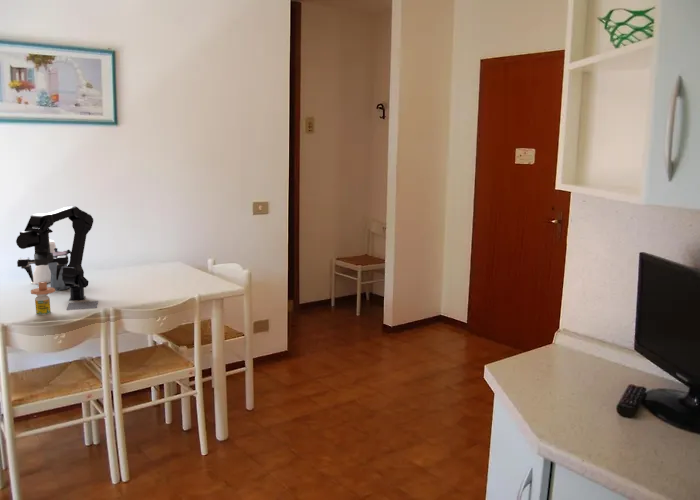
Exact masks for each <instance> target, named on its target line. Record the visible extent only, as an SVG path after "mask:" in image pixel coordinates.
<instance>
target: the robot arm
mask: <svg viewBox="0 0 700 500" xmlns="http://www.w3.org/2000/svg"><path fill="white" fill-rule="evenodd" d="M67 218H68V220H69V221H71V223H72V224H71V227H72V229H73V233H74V235H73V241H72V246H71V250H70V251H71V255H70V256H71V257H69V256H68V254H67V255H63V256H58V257H57V258H53V253H50V243H49V239H50V234H51V233H53V231H54V230H52V229H51V227H52V226H53V225H54V224H55V223H56V222H59V221H61V220H64V219H67ZM93 225H94V218H93V216H92V215H91V213H90V214H89V213H88V212H86V211H84V210H83V209H82V210H81V209H80V208H79V207H77V206H74V205H67V206H64V207H62V208H58V209H56V210H54V211H50V212H47V213H34V214H31V215H30V218H29V219H28V221H27V224H26V226H25V228H24V231H19V235H17V237H16V239H15V243H16V245H17V246H18V248H20V249H21V250H25V249H28V248H34V254H33V258H31V259H30V257H19V258H18V260H17V261H16V264H17V266H16V267H17V268H20V269H22V270H23V269H24V270H25V272H26V273H27V275H28V276H29V279H30V281H32V282H33V274H34V272H33V269H32V265H33V264H34V265H35V267H36V266H39V265H48V263H54V262H57V263H58V264H57V273H56V280H58V277H59V273H60V270H61V267H62V266H65V264H67V267H64V268H63V273H62V280H63V281H64V284H65V286H66V287H70V288H69V294H70V295H69V299H68V301H71V302H73V301H74V302H75V301H85V300H86V295H85V289H84V288H87V287H88V286H89V280H88V279H87V278H86V277H85V275H84V274H85V271H84V269H83V266H82V263H83V257H84V251H85V245H86V241H87V240H86V239H87V236H88V233H89V232H90V231H91V230H92V228H93Z"/></svg>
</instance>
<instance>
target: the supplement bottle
mask: <svg viewBox="0 0 700 500" xmlns="http://www.w3.org/2000/svg"><path fill="white" fill-rule="evenodd" d="M50 298H51V297H50V296H49V295H48V294H41V295H36V297H34V302H35V304H34V305H35V314H36V315H37V316H38V315H39V316H40V315H41V316H43V315H49V314H51V313H52V312H51V311H52V310H51V302H50V301H51V300H50Z"/></svg>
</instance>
